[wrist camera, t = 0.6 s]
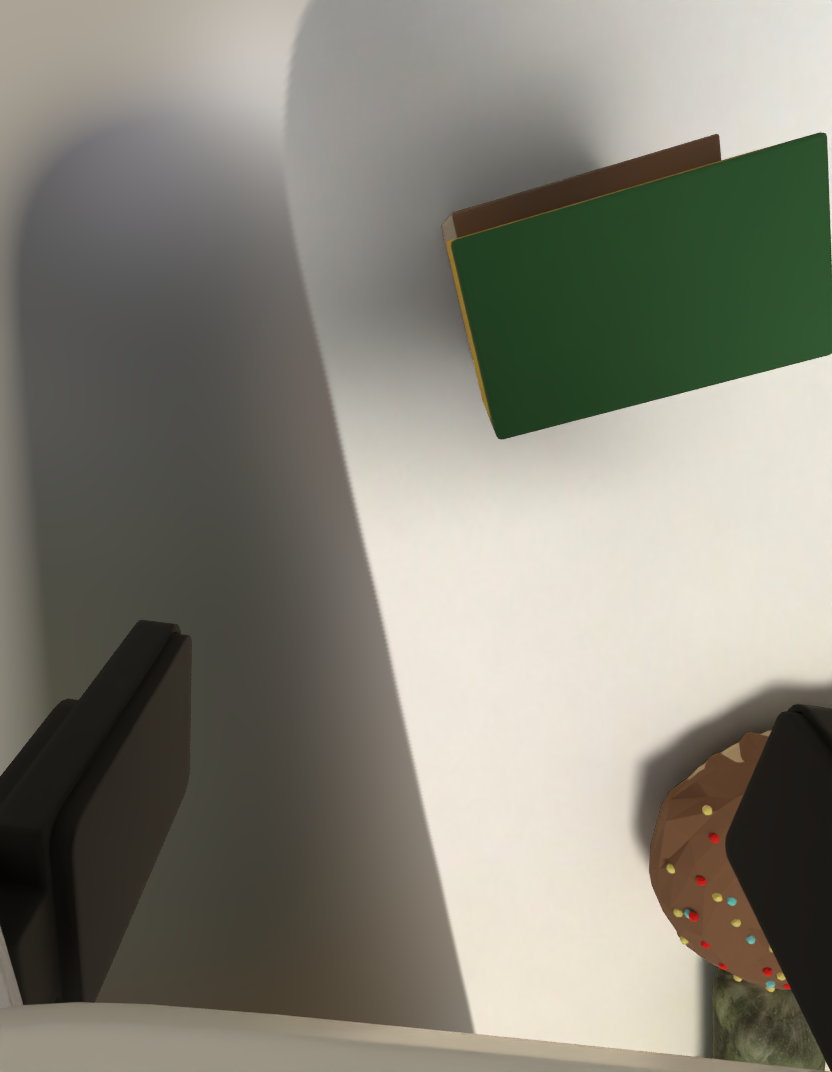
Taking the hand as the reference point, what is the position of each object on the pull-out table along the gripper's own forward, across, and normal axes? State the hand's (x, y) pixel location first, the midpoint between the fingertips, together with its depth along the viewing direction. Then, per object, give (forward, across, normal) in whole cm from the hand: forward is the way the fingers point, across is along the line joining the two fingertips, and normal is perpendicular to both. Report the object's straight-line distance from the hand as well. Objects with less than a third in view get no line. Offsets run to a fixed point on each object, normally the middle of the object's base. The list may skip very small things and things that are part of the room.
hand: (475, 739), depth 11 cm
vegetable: (+16, -21, +29) cm, 39 cm away
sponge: (+7, -2, -7) cm, 10 cm away
